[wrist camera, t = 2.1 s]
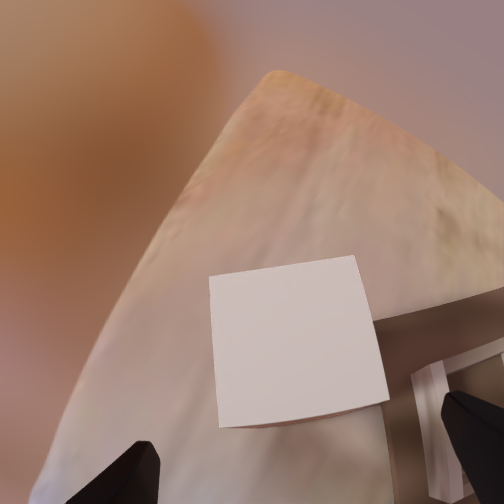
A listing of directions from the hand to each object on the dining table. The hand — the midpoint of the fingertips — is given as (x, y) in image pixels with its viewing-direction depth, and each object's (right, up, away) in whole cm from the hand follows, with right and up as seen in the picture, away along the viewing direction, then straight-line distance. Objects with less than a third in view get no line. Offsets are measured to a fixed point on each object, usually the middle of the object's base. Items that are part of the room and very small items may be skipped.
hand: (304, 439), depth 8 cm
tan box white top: (+1, -3, +10) cm, 11 cm away
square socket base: (+13, -5, +7) cm, 15 cm away
